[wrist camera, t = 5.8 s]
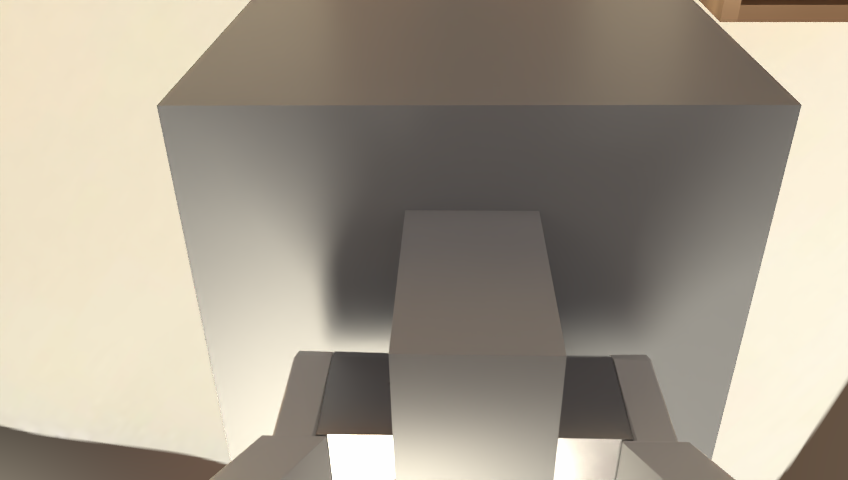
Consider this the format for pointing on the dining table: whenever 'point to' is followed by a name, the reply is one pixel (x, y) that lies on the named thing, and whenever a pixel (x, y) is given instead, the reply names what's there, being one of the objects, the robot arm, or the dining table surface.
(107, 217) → the dining table surface
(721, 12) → the open brown box
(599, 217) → the housing
